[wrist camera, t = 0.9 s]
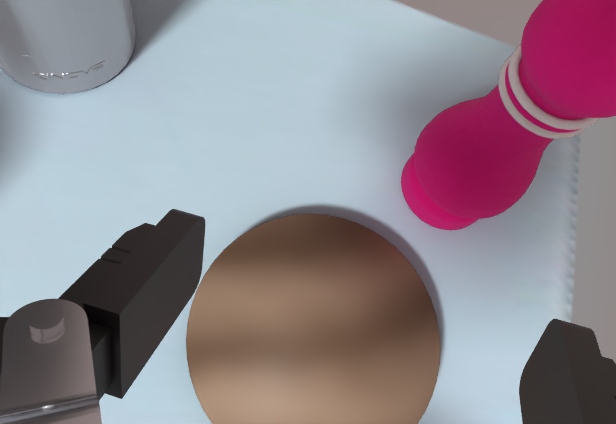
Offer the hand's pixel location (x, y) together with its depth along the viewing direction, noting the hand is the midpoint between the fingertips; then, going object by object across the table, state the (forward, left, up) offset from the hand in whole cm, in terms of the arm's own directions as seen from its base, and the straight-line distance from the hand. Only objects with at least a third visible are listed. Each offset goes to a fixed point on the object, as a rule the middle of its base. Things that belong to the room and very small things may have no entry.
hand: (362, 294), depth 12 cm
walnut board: (0, +3, -21) cm, 21 cm away
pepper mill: (-7, +15, -21) cm, 27 cm away
